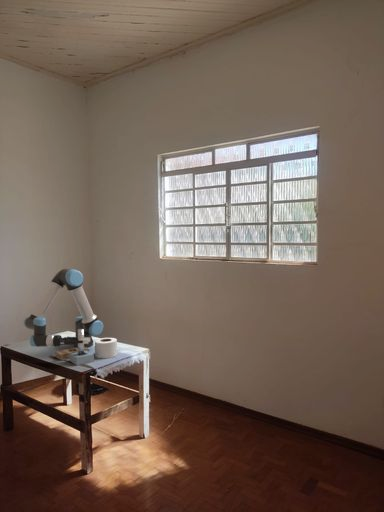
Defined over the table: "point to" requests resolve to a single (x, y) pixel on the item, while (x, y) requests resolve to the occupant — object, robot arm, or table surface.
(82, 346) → the steel axle
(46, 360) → the table surface
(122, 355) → the table surface
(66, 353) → the walnut beam
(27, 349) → the table surface
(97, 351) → the toilet paper roll
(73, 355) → the seat block
